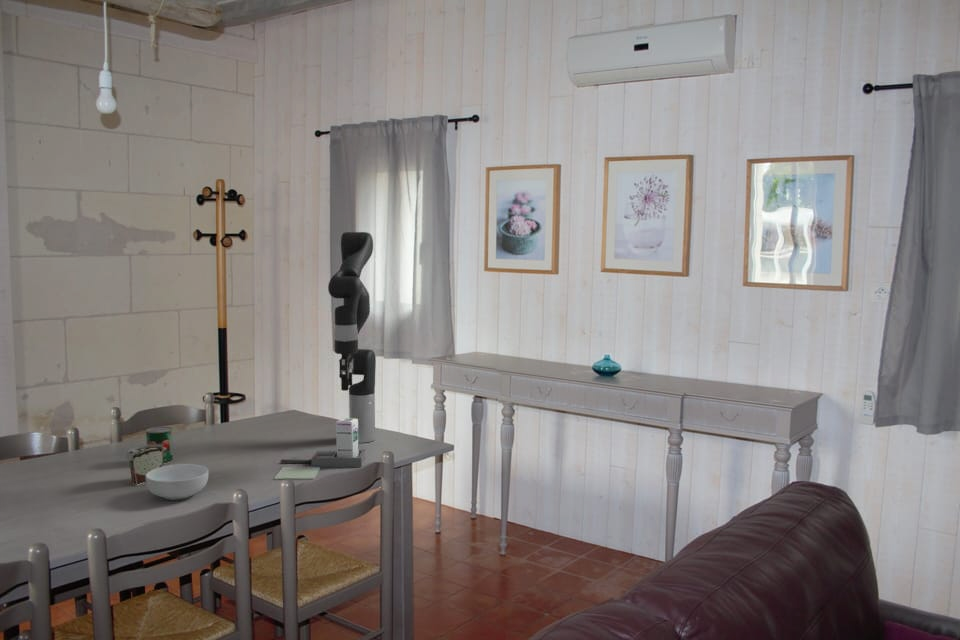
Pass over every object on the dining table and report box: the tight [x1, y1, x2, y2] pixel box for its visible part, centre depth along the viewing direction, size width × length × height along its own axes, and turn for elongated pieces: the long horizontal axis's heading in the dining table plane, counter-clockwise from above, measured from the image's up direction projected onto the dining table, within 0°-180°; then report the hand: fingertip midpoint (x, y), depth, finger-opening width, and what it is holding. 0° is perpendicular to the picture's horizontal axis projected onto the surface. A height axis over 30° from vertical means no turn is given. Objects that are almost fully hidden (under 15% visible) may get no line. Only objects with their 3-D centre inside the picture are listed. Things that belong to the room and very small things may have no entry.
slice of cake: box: [125, 444, 165, 486], centre depth 250 cm, size 12×6×10 cm, turn 152°
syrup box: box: [335, 417, 360, 457], centre depth 268 cm, size 6×6×14 cm
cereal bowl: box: [145, 463, 209, 501], centre depth 235 cm, size 17×17×7 cm
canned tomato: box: [145, 426, 174, 465], centre depth 270 cm, size 8×8×11 cm
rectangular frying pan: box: [279, 449, 366, 468], centre depth 269 cm, size 10×27×3 cm, turn 91°
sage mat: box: [273, 466, 321, 481], centre depth 257 cm, size 12×12×1 cm
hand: (346, 387), depth 267 cm, fingers open, 8 cm apart
